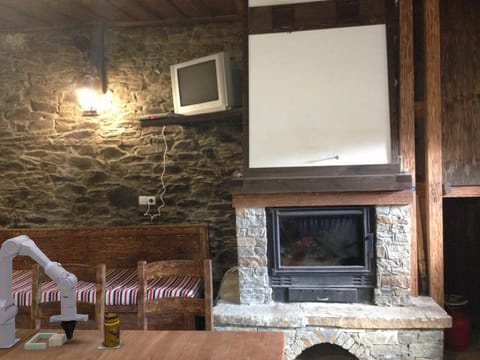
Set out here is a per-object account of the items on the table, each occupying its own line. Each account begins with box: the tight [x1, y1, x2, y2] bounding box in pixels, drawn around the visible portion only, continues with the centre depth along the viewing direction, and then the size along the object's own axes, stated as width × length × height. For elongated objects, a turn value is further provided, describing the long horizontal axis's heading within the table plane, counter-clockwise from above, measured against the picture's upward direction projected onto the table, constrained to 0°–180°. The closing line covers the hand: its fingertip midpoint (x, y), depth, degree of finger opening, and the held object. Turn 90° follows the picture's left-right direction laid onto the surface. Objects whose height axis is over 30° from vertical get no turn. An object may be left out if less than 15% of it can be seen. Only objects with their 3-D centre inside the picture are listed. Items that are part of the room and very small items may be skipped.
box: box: [23, 332, 58, 351], centre depth 165 cm, size 8×11×2 cm
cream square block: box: [48, 333, 67, 347], centre depth 165 cm, size 5×5×3 cm
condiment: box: [97, 312, 123, 350], centre depth 163 cm, size 7×8×12 cm
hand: (69, 338), depth 166 cm, fingers closed
